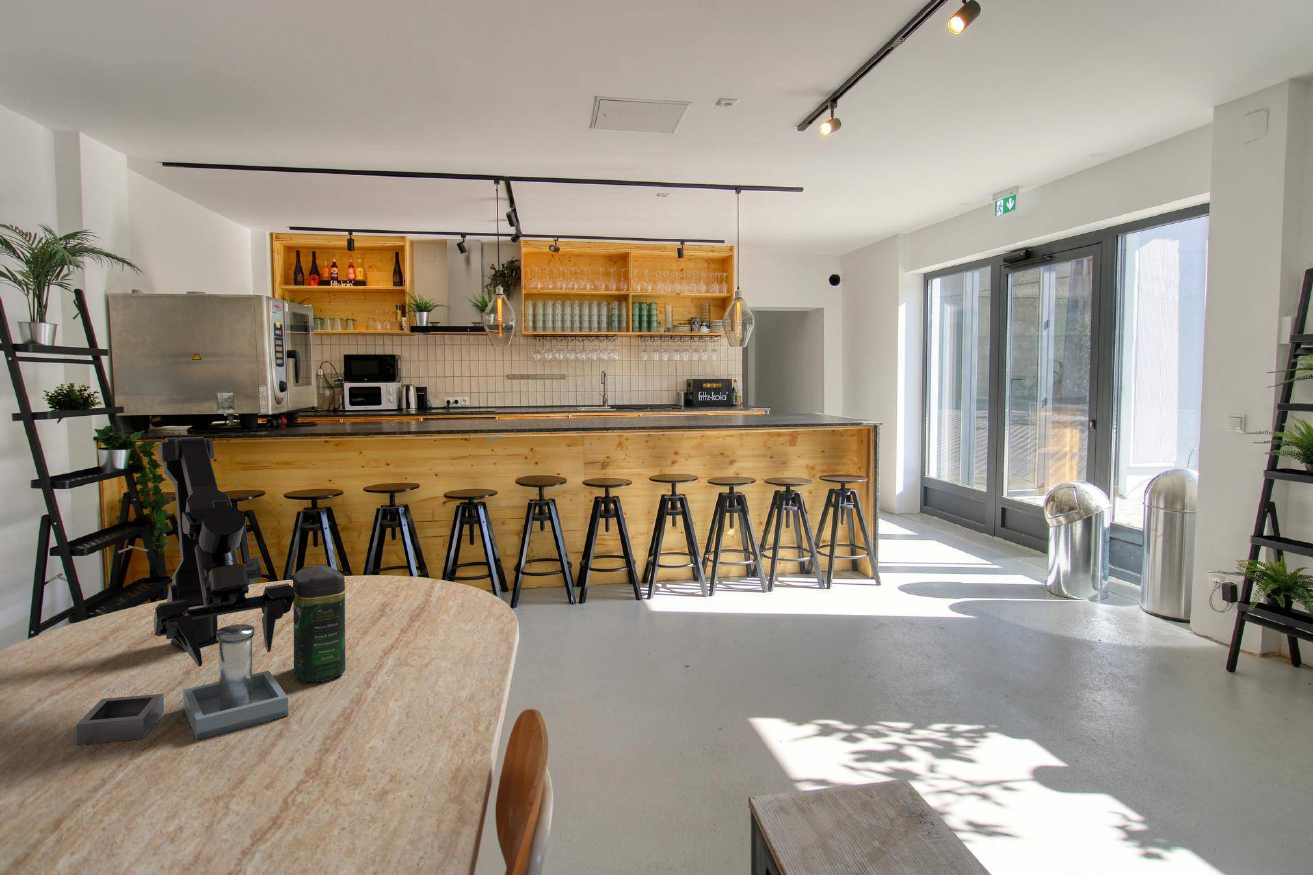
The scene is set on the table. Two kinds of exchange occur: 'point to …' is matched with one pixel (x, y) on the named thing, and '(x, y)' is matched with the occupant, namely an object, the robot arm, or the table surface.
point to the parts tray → (213, 721)
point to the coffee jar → (319, 623)
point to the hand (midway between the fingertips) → (235, 657)
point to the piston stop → (235, 665)
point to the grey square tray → (120, 719)
